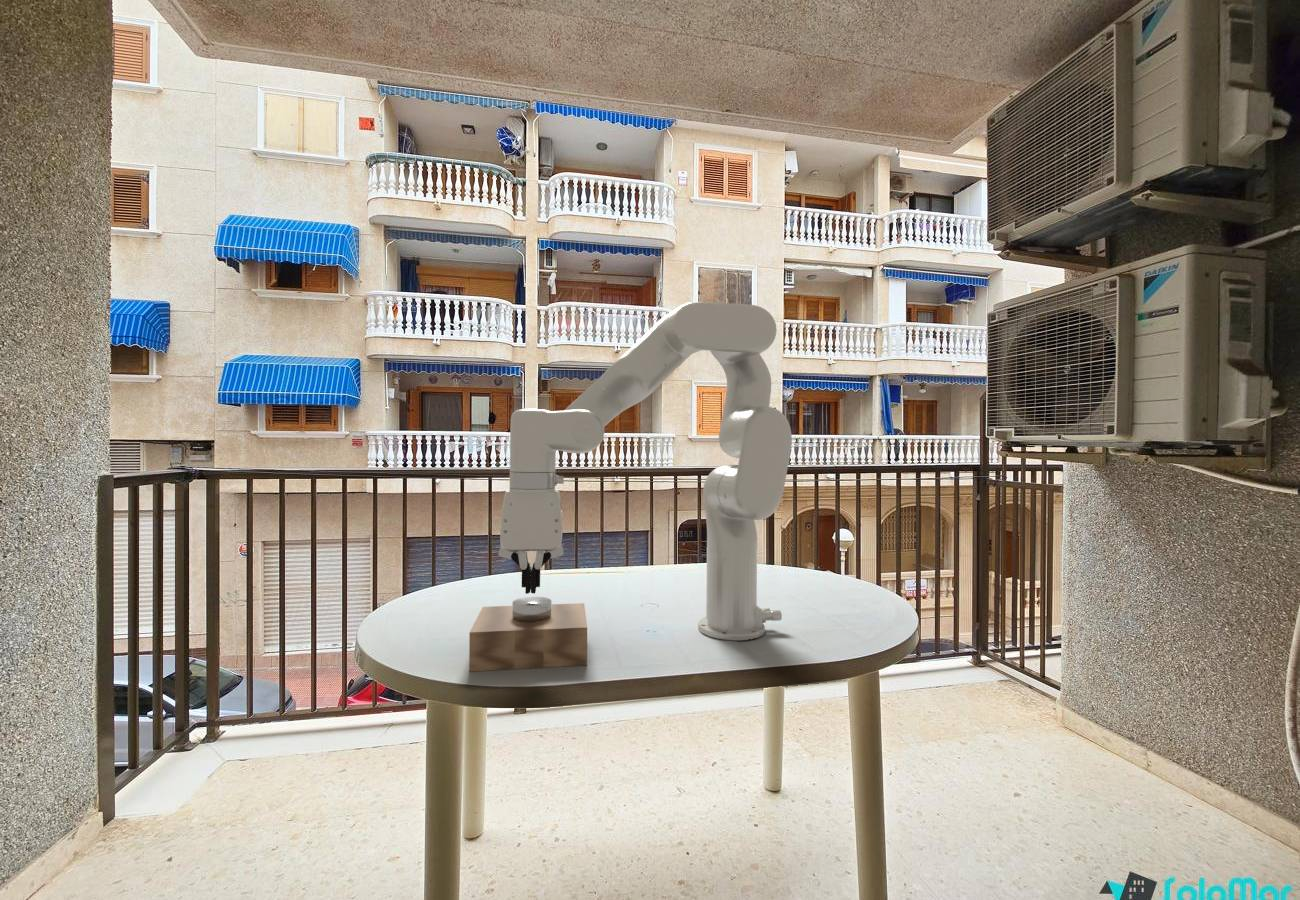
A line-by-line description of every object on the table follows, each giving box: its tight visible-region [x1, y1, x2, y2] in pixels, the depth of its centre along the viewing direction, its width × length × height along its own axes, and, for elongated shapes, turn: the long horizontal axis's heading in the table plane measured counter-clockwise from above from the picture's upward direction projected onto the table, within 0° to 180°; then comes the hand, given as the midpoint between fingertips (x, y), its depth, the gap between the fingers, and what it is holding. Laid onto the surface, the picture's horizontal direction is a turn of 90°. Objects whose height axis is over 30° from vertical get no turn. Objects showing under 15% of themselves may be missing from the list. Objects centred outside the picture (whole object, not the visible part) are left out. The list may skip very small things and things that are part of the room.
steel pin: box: [512, 596, 552, 622], centre depth 93 cm, size 6×6×8 cm
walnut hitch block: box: [468, 602, 588, 672], centre depth 93 cm, size 18×14×6 cm
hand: (530, 591), depth 93 cm, fingers closed
